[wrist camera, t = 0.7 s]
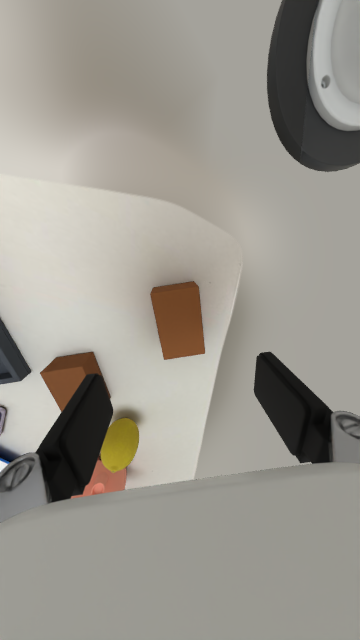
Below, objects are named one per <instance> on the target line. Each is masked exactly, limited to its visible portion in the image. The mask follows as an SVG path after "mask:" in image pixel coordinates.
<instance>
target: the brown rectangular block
mask: <svg viewBox="0 0 360 640" xmlns="http://www.w3.org/2000/svg"><path fill="white" fill-rule="evenodd" d="M150 295H151V299H152V304H153V309H154V314H155V319H156V323H157V328H158V333H159V338H160V343H161V347H162V352H163V357H164V360H166V359H173V358H179V357H186V356H192V355H198V354H205V347H204V337H203V326H202V316H201V306H200V295H199V286H198V285H197V284H196V283H195V282H194V281H193V282H186V283H180V284H173V285H167V286H160V287H153V289H152V291H151V294H150Z"/></svg>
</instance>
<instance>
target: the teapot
mask: <svg viewBox="0 0 360 640" xmlns="http://www.w3.org/2000/svg"><path fill="white" fill-rule="evenodd" d="M125 483H126V467H125V468H124V469H122V470H120V471H116V472H115V473H112V472H111V471H110V470H108V469H107V468H106V467H105V466H104V465H103V463H102V461H100V460H99V458H98V460H97V463H96V466H95V469H94V472H93V475H92V478H91V480H90V483H89V484H88V485H86V486H85V489H84V492H83V495H76V496H71V499H72V498H78V497H84V496H90V495H96V494H102V493H108V492H115V491H121V490H124V489H125Z"/></svg>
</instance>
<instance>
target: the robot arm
mask: <svg viewBox="0 0 360 640" xmlns="http://www.w3.org/2000/svg"><path fill="white" fill-rule="evenodd" d="M306 64H307V81H308V87H309V92H310V96H311V98H312V101H313V104H314V106H315V108H316V110H317V111H318V113H319V115H320V116H321V117H322V118H323V119H324V120H325V121H326V122H327V123H328V124H329V125H331V126H333V127H334V128H336V129H339V130H344V131H357V130H360V0H319V3H318V6H317V9H316V12H315V15H314V18H313V21H312V26H311V30H310V35H309V40H308V49H307V59H306ZM254 393H255V396H256V397H257V399H258V401H259V402H260V404H261V405H262V407H263V409H264V410H265V412H266V414H267V415H268V417H269V418H270V420H271V422H272V423H273V425H274V426H275V428H276V430H277V432H278V433H279V435H280V436H281V438H282V439H283V441H284V443H285V444H286V446H287V448H288V449H289V451H290V452H291V454H292V455H296V457H297V458H298V460H299V461H300V463H305V462H311V463H312V464H307V465H299V466H291V467H281V468H274V469H267V470H260V471H253V472H245V473H238V474H231V475H224V476H217V477H210V478H203V479H196V480H189V481H182V482H175V483H168V484H161V485H155V486H148V487H141V488H135V489H128V490H121V491H115V492H108V493H102V494H96V495H90V496H84V497H78V498H72V499H71V496H76V495H83V492H84V489H85V486H86V485H88V484H89V483H90V480H91V478H92V475H93V472H94V469H95V466H96V463H97V460H98V457H99V454H100V451H101V448H102V445H103V442H104V439H105V436H106V433H107V430H108V427H109V424H110V421H111V418H112V415H113V407H112V404H111V401H110V398H109V395H108V392H107V389H106V386H105V383H104V380H103V377H102V376H101V375H99V374H98V373H94V374H87V375H86V376H85V378H84V379H83V381H82V382H81V384H80V385H79V387H78V388H77V390H76V391H75V393H74V394H73V396H72V397H71V399H70V400H69V402H68V403H67V405H66V406H65V408H64V409H63V411H62V413H61V414H60V416H59V417H58V419H57V420H56V422H55V423H54V425H53V426H52V428H51V429H50V431H49V432H48V434H47V435H46V437H45V438H44V440H43V441H42V443H41V444H40V446H39V448H38V449H37V451H36V453H27V454H24V455H22V456H20V457H18V458H16V459H15V460H13V461H12V462H10V463H9V464H8V465H7V466H6V467H5V468H4V469H3V470H1V472H0V640H360V416H358V415H355V414H353V413H350V412H346V411H336V412H334V413H333V412H332V411H331V410H330V409H329V407H328V406H326V404H325V403H324V402H322V400H320V399H319V398H318V397H317V396H316V395H315V394H314V393H313V392H312V391H311V390H310V389H309V388H308V387H307V386H306V385H305V384H304V383H303V382H302V381H301V380H300V379H298V378H297V377H296V376H295V375H294V374H293V373H292V372H291V371H290V370H289V369H288V368H287V367H286V366H285V365H284V364H283V363H282V362H281V361H280V360H279V359H278V358H277V357H276V356H275V355H274V354H272V353H271V352H264V353H260V354H259V356H257V360H256V371H255V383H254Z"/></svg>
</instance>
